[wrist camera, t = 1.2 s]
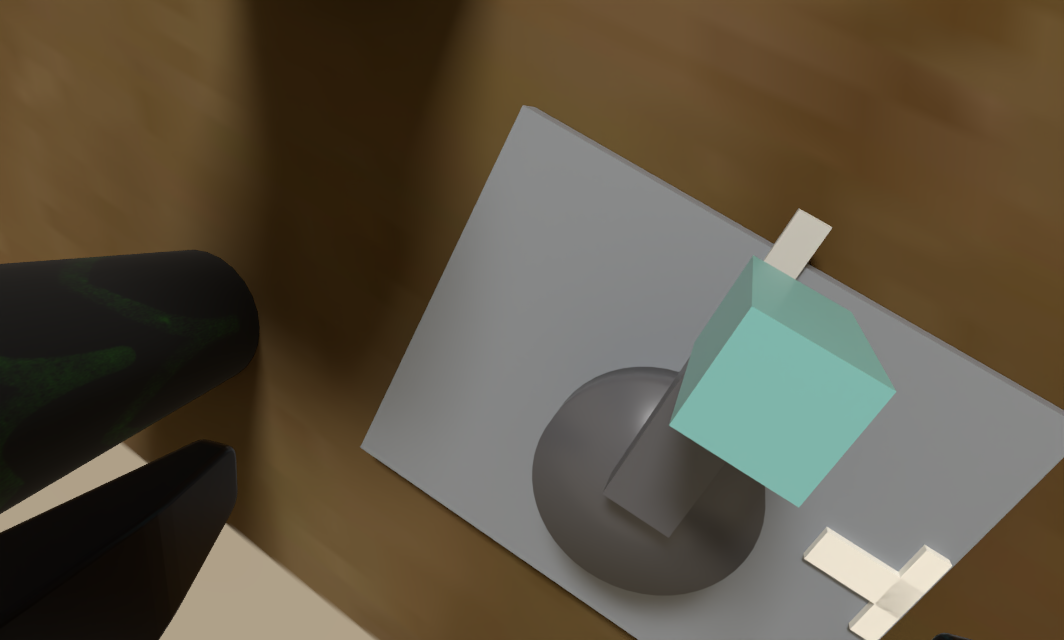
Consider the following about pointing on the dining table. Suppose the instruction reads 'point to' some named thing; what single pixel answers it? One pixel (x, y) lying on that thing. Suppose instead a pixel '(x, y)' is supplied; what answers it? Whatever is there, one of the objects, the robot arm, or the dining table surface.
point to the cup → (109, 353)
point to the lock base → (666, 342)
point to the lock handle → (707, 438)
